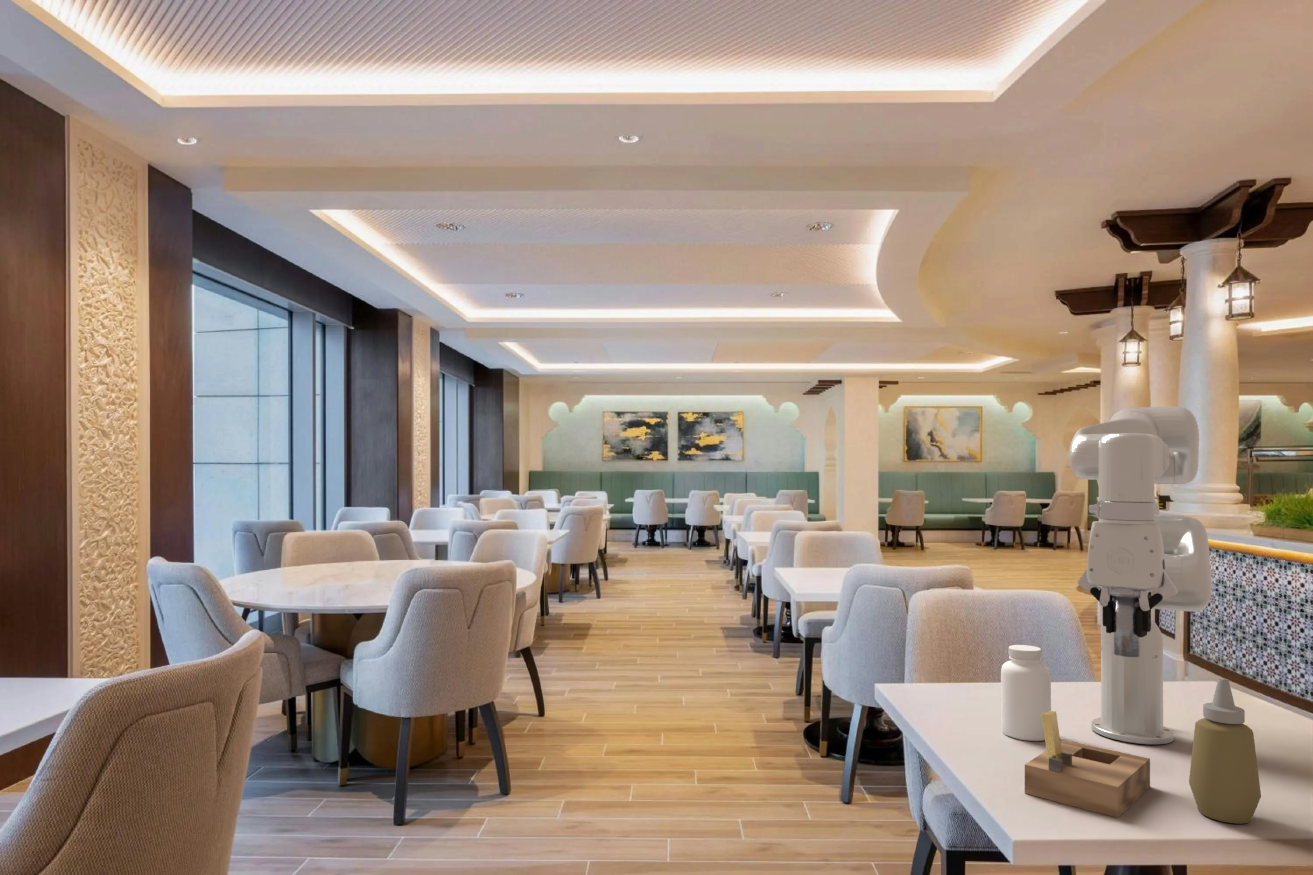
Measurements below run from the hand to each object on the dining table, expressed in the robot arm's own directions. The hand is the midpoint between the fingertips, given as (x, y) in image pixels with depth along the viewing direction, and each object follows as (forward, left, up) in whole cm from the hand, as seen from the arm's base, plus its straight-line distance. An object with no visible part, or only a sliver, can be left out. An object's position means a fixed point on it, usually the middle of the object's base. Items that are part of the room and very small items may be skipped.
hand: (1126, 632), depth 131 cm
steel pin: (0, 0, -3) cm, 3 cm away
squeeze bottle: (+9, +14, -21) cm, 27 cm away
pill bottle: (-8, -18, -21) cm, 29 cm away
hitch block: (+12, -2, -21) cm, 24 cm away
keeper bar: (+17, -4, -13) cm, 22 cm away
